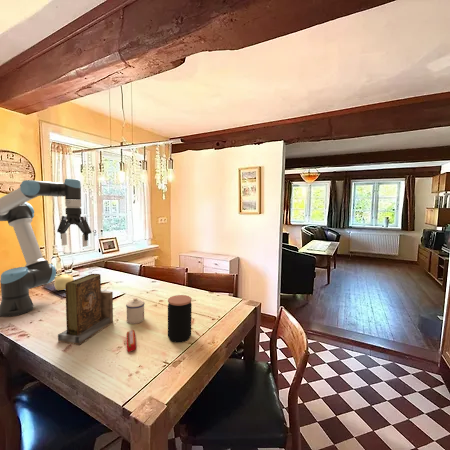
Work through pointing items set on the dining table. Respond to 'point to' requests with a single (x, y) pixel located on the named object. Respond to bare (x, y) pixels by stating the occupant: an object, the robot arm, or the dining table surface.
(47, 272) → the robot arm
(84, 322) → the book
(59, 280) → the sculpture
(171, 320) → the coffee jar
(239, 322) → the dining table surface
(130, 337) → the candy bar
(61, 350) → the dining table surface
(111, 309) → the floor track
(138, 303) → the teacup with lid
